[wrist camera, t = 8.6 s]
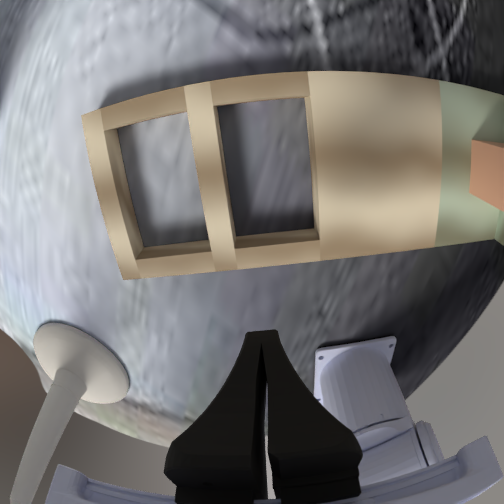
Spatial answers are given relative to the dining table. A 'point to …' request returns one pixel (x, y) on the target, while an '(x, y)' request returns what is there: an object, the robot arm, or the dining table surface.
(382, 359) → the robot arm
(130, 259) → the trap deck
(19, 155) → the dining table surface
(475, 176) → the terracotta block
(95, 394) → the candlestick
